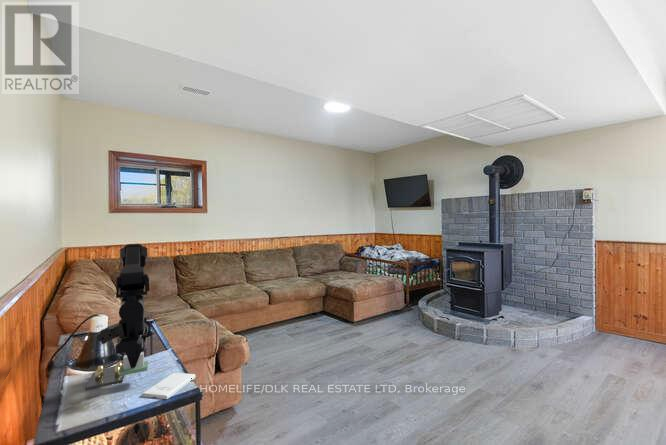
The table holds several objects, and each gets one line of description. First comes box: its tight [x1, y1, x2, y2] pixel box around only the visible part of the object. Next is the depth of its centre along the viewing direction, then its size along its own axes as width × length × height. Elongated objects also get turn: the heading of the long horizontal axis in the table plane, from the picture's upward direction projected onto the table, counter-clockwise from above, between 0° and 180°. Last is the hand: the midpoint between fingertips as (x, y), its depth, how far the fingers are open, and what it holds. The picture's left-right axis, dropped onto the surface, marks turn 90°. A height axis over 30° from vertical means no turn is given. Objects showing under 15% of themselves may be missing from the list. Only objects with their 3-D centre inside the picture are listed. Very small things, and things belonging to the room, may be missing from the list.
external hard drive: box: [141, 372, 196, 400], centre depth 94 cm, size 2×8×12 cm
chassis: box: [85, 361, 126, 391], centre depth 101 cm, size 13×9×3 cm
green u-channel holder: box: [119, 352, 149, 376], centre depth 95 cm, size 5×7×4 cm
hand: (133, 365), depth 95 cm, fingers closed on green u-channel holder, 2 cm apart
